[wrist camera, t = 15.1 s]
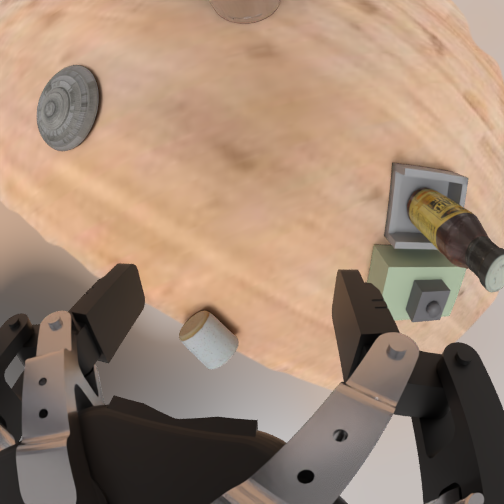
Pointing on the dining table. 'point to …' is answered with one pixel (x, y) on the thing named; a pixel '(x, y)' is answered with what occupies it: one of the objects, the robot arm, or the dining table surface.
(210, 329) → the white cylinder
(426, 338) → the dining table surface
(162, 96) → the dining table surface
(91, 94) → the flying saucer
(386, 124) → the dining table surface
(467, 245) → the sauce bottle
